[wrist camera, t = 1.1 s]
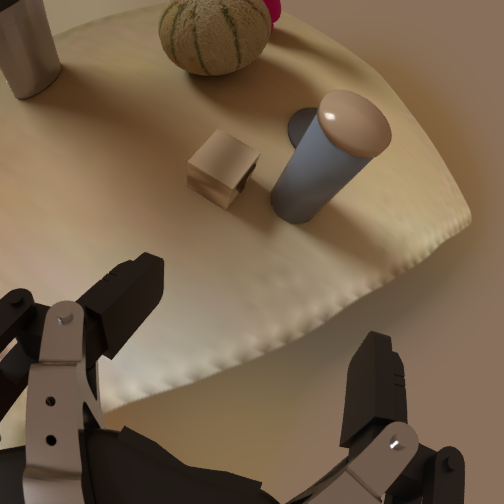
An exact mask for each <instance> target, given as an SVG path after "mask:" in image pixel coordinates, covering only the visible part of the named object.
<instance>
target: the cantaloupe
mask: <svg viewBox="0 0 504 504" xmlns="http://www.w3.org/2000/svg"><path fill="white" fill-rule="evenodd" d="M270 33H271V18H270V13H269V10H268V8H267V6H266V5H265V3H264V2H263V0H170V1H169V2H168V3H167V4H166V5H165V7H164V9H163V10H162V13H161V15H160V19H159V37H160V40H161V44H162V47H163V50H164V51H165V53H166V54H167V56H168V57H169V59H170V60H171V61H172V62H173V63H175V64H176V65H177V66H178V67H180V68H182V69H184V70H186V71H188V72H190V73H193V74H198V75H204V76H210V75H215V76H218V75H224V74H228V73H231V72H234V71H235V70H240V69H242V68H244V67H246V66H247V65H249V64H251V63H252V62H253V61H255V59H256V58H257V57H258V56H259V55H260V54H261V53H262V51H263V49H264V48H265V46H266V44H267V42H268V40H269V37H270Z"/></svg>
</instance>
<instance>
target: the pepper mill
mask: <svg viewBox="0 0 504 504" xmlns="http://www.w3.org/2000/svg"><path fill="white" fill-rule="evenodd" d="M263 2H264V3H265V5H266V6H267V8H268V10H269V13H270V18H271V33H272V30H273V27H274V25H273V23H274V22H276V21H277V20H278V19H279V18H280V14H281V4H280V0H263ZM271 33H270V34H271Z"/></svg>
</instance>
